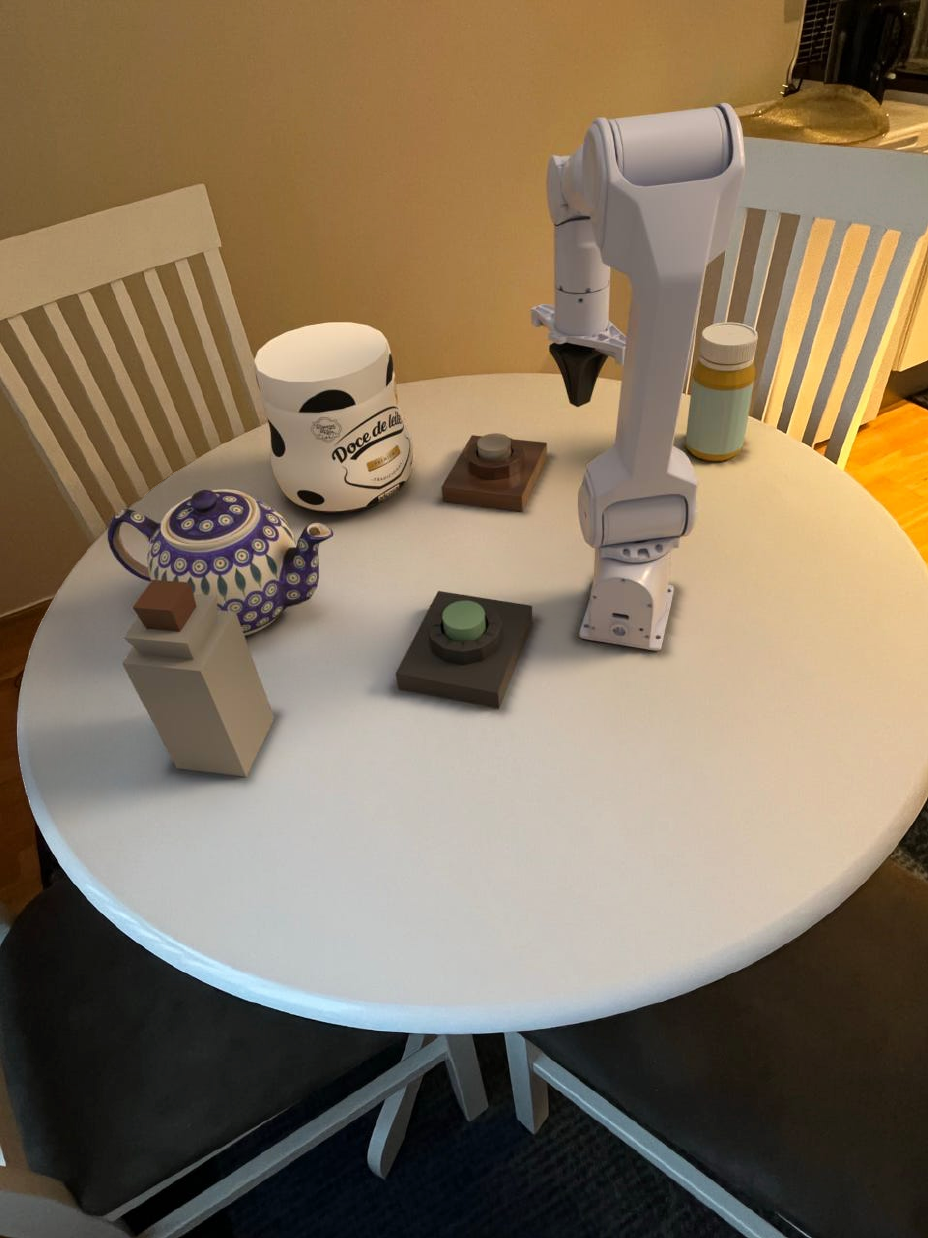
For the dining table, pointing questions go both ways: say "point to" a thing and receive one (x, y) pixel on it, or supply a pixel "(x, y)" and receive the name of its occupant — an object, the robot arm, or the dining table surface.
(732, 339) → the bottle
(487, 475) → the push button back
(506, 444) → the grey button cap
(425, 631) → the push button front
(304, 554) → the teapot
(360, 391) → the doce de leite jar
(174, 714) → the perfume bottle
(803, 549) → the dining table surface
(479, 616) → the green button cap
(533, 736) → the dining table surface
